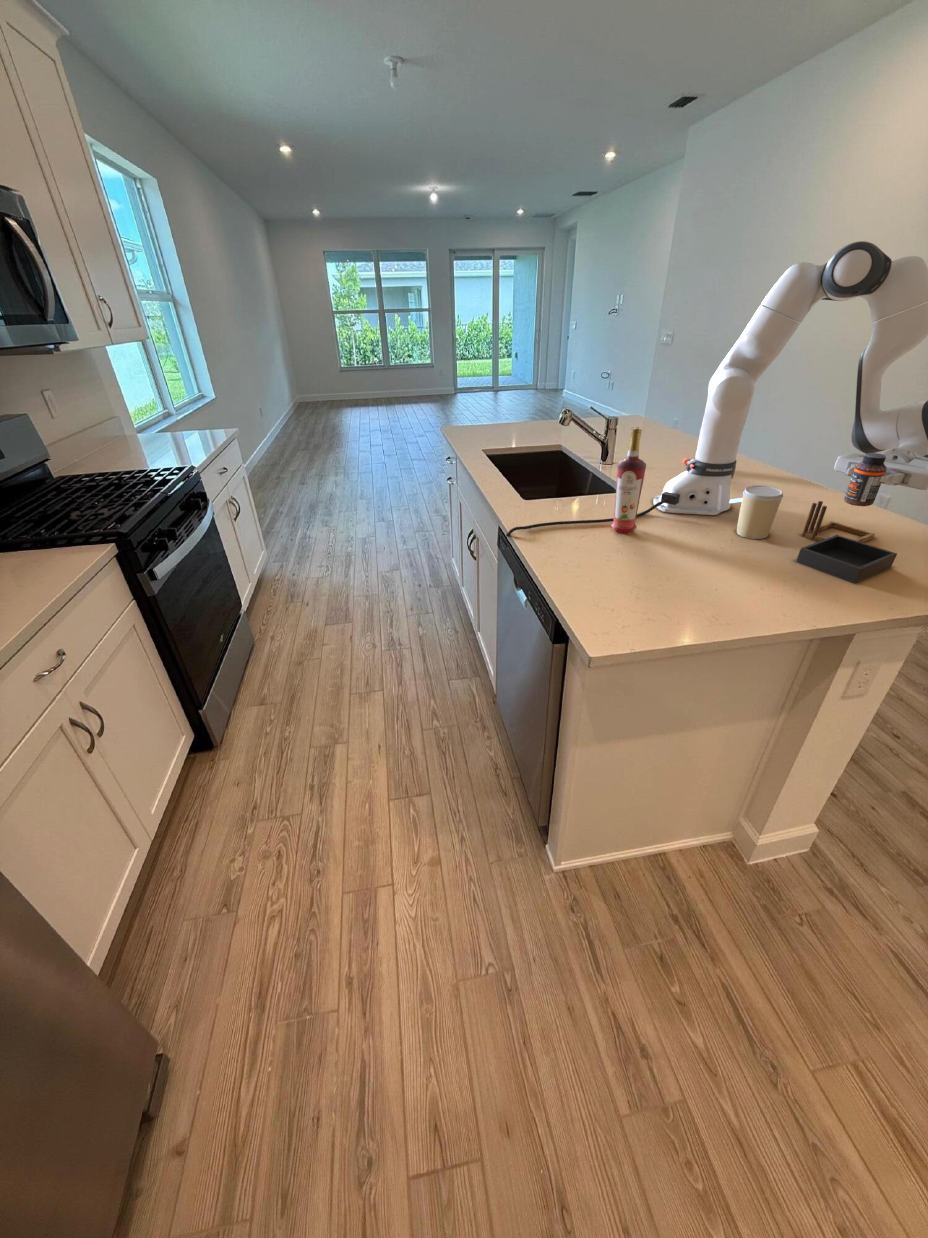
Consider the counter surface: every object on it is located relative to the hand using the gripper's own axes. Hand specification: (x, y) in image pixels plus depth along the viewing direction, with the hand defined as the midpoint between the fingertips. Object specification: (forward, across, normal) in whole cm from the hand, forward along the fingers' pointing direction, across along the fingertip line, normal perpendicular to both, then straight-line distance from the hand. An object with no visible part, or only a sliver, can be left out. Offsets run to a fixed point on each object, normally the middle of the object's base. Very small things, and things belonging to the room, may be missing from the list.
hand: (866, 476), depth 117 cm
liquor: (+34, -40, +19) cm, 56 cm away
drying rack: (-8, -5, +19) cm, 21 cm away
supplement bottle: (-1, 0, +7) cm, 7 cm away
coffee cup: (+7, -19, +19) cm, 28 cm away
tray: (+7, +5, +19) cm, 21 cm away
